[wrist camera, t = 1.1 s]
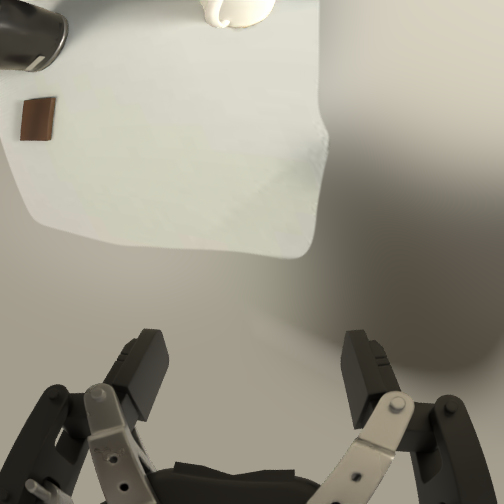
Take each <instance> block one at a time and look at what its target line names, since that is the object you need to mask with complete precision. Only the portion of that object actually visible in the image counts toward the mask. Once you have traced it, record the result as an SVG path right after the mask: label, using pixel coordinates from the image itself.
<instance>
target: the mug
mask: <svg viewBox="0 0 504 504" xmlns="http://www.w3.org/2000/svg"><path fill="white" fill-rule="evenodd" d="M199 1H200V3H201V5H202V6H203V8H204V10H205V20H206V22H207V23H208V24H209V25H211V26H212V27H215V28H223V27H234V28H240V27H248V26H252V25H255V24H257V23H259V22H261V21H262V20H263V19H265V18H266V17H267V16H268V15H269V13H270V12H271V10H272V8H273V5H274V3H275V0H199Z"/></svg>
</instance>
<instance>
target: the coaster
mask: <svg viewBox="0 0 504 504" xmlns="http://www.w3.org/2000/svg"><path fill="white" fill-rule="evenodd" d="M55 100H56V98H43V99H33V100H25V101H24V105H23V114H22V123H21V136H20V141H48V140H51V133H52V123H53V114H54V107H55Z"/></svg>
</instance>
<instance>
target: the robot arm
mask: <svg viewBox="0 0 504 504" xmlns="http://www.w3.org/2000/svg"><path fill="white" fill-rule="evenodd" d="M67 35H68V22H67V19H66V18H65V17H64V16H63V15H61V14H58V13H54V12H51V11H49V10H46V9H44V8H41V7H38V6H35V5H32V4H29V3H26V2H23V1H20V0H0V70H22V71H28V72H37V71H40V70H43V69H44V68H46V67H47V66H48V65H50V64H51V63H52V62H53V61H54V60H55V58H56V57H57V56H58V54H59V53H60V51H61V50H62V48H63V46H64V44H65V41H66V38H67ZM168 365H169V355H168V351H167V348H166V345H165V341H164V338H163V334H162V332H161V330H157V329H143V330H142V332H141V333H140V335H139V337H138V338H137V339H135V338H134V339H132V340H131V341H130V342H129V343H127V344H126V345H125V347H124V348H123V350H122V351H121V354H120V355H119V356H118V358H117V361H115V363H114V365H113V366H112V368H111V370H110V371H109V373H108V375H107V376H106V378H105V380H104V381H103V383H99V384H95V385H93V386H91V387H90V388H88V389H87V391H86V392H85V393H69V392H68V390H67V389H66V387H65V386H63V385H59V384H56V385H52V386H50V387H48V388H47V389H46V390H45V391H44V393H43V394H42V396H41V397H40V399H39V401H38V402H37V404H36V406H35V407H34V409H33V411H32V412H31V414H30V416H29V418H28V419H27V421H26V423H25V425H24V427H23V428H22V430H21V432H20V434H19V436H18V438H17V439H16V441H15V443H14V445H13V447H12V449H11V451H10V453H9V455H8V457H7V459H6V461H5V463H4V465H3V467H2V469H1V472H0V504H74V503H73V501H72V499H71V496H72V493H73V490H74V487H75V484H76V482H77V479H78V476H79V473H80V470H81V468H82V465H83V463H84V460H85V458H86V455H87V452H88V450H89V449H90V452H91V456H92V459H93V463H94V466H95V470H96V473H97V476H98V479H99V482H100V485H101V488H102V491H103V493H104V496H105V499H106V501H104V502H103V503H101V504H367V503H368V501H369V500H370V498H371V497H372V495H373V494H374V492H375V490H376V488H377V487H378V485H379V484H380V482H381V480H382V479H383V477H384V475H385V473H386V472H387V470H388V468H389V466H390V464H391V462H392V461H393V459H394V456H395V451H403V452H410V455H411V460H412V465H413V470H414V475H415V480H416V486H417V491H418V498H419V504H497V500H496V496H495V492H494V488H493V484H492V480H491V477H490V473H489V470H488V467H487V464H486V460H485V457H484V454H483V451H482V448H481V446H480V443H479V440H478V437H477V435H476V432H475V429H474V427H473V424H472V422H471V420H470V417H469V415H468V412H467V410H466V407H465V405H464V403H463V402H462V400H461V399H459V398H458V397H456V396H453V395H444V396H441V397H440V398H438V399H437V401H436V403H435V404H431V403H418V402H414V401H413V399H412V398H411V397H410V396H409V395H407V394H406V393H404V392H401V390H400V387H399V385H398V382H397V379H396V377H395V374H394V372H393V370H392V367H391V365H390V363H389V360H388V358H387V355H386V353H385V351H384V348H383V347H382V346H381V345H380V344H379V343H378V342H377V341H375V340H372V341H369V340H368V338H367V335H366V333H365V331H364V330H352V331H346V334H345V339H344V345H343V349H342V355H341V371H342V375H343V380H344V384H345V388H346V393H347V397H348V402H349V407H350V411H351V416H352V420H353V426H354V429H361V428H362V429H363V430H362V431H361V433H360V434H359V436H358V437H357V438H356V439H355V440H354V441H353V443H352V444H351V446H350V447H349V449H348V450H347V452H346V453H345V455H344V456H343V457H342V459H341V460H340V462H339V463H338V464H337V466H336V467H335V468H334V470H333V471H332V472H331V474H330V475H329V476H328V478H327V479H326V480H325V481H324V483H323V484H322V485H319V484H317V483H315V482H313V481H311V480H309V479H306V478H302V477H297V476H295V470H262V471H256V472H250V473H245V474H238V475H230V474H226V473H223V472H220V471H217V470H214V469H211V468H208V467H205V466H202V465H194V464H188V463H181V462H175V465H174V468H169V469H163V470H159V471H157V470H156V468H155V467H154V465H153V464H152V462H151V460H150V458H149V456H148V454H147V452H146V450H145V448H144V445H143V443H142V441H141V438H140V436H139V434H138V431H137V429H136V427H135V424H136V421H137V420H140V421H144V422H146V421H147V419H148V416H149V414H150V411H151V409H152V406H153V403H154V401H155V398H156V396H157V393H158V391H159V388H160V386H161V383H162V381H163V379H164V376H165V374H166V371H167V369H168ZM61 428H63V429H64V430H63V432H62V434H61V436H60V438H59V440H58V443H57V445H56V447H55V440H56V438H57V436H58V434H59V432H60V430H61Z"/></svg>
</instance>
